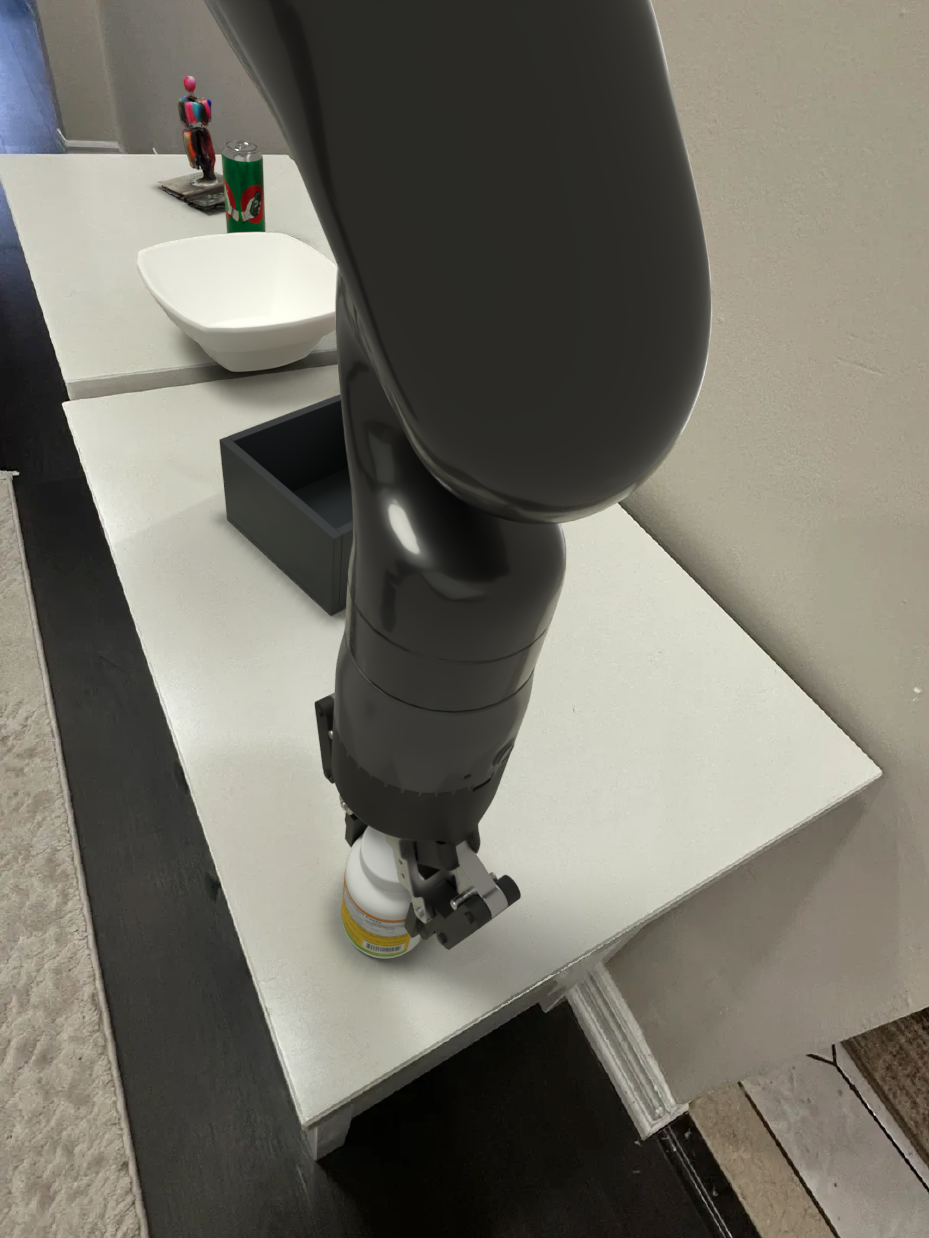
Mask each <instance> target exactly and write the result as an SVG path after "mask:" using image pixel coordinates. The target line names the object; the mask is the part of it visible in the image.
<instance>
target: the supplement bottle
mask: <svg viewBox="0 0 929 1238" xmlns="http://www.w3.org/2000/svg"><path fill="white" fill-rule="evenodd" d="M341 899H342V900H341V922H342V927H343V930H344V932H345V935H346V937H347V939H348V940H349V941H350V943H351V944H352V945H353V946H354V947H355V949H357V950H358V951H359V952H362V954H365V955H366V956H368V957H369V956H370V957H372V958H376V959H393V958H398V957H400V956H403V955H405V954H408V952H410V951H412V950H413V949H414V948H415V947H416V946H417V945H418V944H419V943H420V941H421V940H422V938H421V936H420V935H417V936H416V937H414V938H411V936H410V935H409V933H408V932H407V930H406V929H405V927H404V925H405V921H406V917H407V913H408V909H409V905H410V903H411V902H412V899H411V893H410V892H409V891H408V890H407V889H406V888H405V887H404V886H403V885H402V884H401V883H400V882H399V880H398V875H397V870H396V864H395V859H394V854H393V849H392V848H391V847H390V846H389V845H388V844H387V842H386V839H385V834H384V833H381V832H379V831H377V830H375V829H373V828H372V827H370V826H368V827H367V829H366V830H365V832H364V833H363V834H362V835H361V836H360V837H359V838H358V839H357V840H356V841H355V843H354V844H353V846H352V847H350V849H349V851H348V854H347V857H346V860H345V866H344V876H343V888H342V898H341Z"/></svg>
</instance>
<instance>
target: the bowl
mask: <svg viewBox="0 0 929 1238" xmlns="http://www.w3.org/2000/svg"><path fill="white" fill-rule="evenodd" d="M136 270H137V272H138V274H139V276H140V279H141V281H142V283H143V285H144V286H145V288H146V290H147V291H148V292H149V294H150V295H151V297H152V298H153V299H154V300H155V301H156V304H158V305H159V307H160V308H161V310H162V311H163V312H164V313H165V315H166V316H167V317H168V318H169V320H170V322H172V323H173V324H174V325H175V326H176V327H177V328H179V329H180V331H181V332H183V333H184V334H186V336H188V337H189V338H191V340H193V341H194V342H196V343H197V344H198V345H199V346H200V347H201V349H202V350H203V352H204V353H206V354H207V355H208V356H209V358H211V359H212V360H213V361H215V362H216V363H217V364H219V365H220V366H221V367H223V368H224V369H225V370H228V371H230V372H234V373H242V372H255V371H264V370H269V369H275V368H279V367H283V366H286V365H289V364H293V363H294V362H298V361H300V360H303V359H305V358H307V357H308V356H309V355H310V354H311V352H312V351H313V350H314V349H315V347H316V346H317V345H318V344H319V343H320V341H321V340H322V339H323V337H324V336H328V335H330V334H332V333H335V332H336V323H335V293H336V275H337V264H336V263H334V262H333V261H331V260H330V259H329V258H327V257H326V256H324V255H323V254H322V253H321V252H319V251H317V250H316V249H315V248H313V247H311V246H310V245H309V244H307V243H305V242H304V241H303V240H300V239H297V238H295V237H293V236H290V235H289V234H286V233H284V232H267V231H266V232H244V233H227V232H226V233H217V234H207V235H199V236H193V237H187V238H180V239H176V240H175V239H174V240H170V241H166V242H161V243H157V244H154V245H152V246H148V247H145V248H142V249H140V250H138V252H137V255H136Z"/></svg>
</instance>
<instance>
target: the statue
mask: <svg viewBox="0 0 929 1238" xmlns="http://www.w3.org/2000/svg"><path fill="white" fill-rule="evenodd" d="M182 79H183V86H184V89H185V91H186V92H187V93H188V94H187V95H188V96H187V95H184V96H183V97H179V98H178V101H177V102H176V103H177V110H178V116H179V122H180V123H181V125H182V126H183V127H184V128H182V129H183V130H182V131H181V135H182V141H183V147H184V152H185V154H186V157H187V160H188V163H189V166H190V167H191V168H192V169H193V170H197V171H198V172H194V173H191V174H186V175H182V176H179V177H173V178H169V179H165V180H160V181H157V183H158V184H160V185H161V186H159V185H158V189H161V191H165V192H166V193H168V194H170V195H173V196H174V197H176V198H179V199H181V200H185V199H186V202H187V205H188V206H189V207H193V208H195V207H196V208H198V209H204V210H207V209H211V208H214V207H215V205H216V208H225V198H224V184H223V174H221V173H218V172H216V171H215V165H216V162H217V157H216V152H215V148H214V141H213V138H212V134H211V132H210V130H209V128H208V127H209V123H212V100H211V99H209V98H205V97H201V99H200V97H199V96H198V95H197V96H195V90H196V87H197V85H196V83H197V82H196V78H195V77H194V76H191V75H185V76H184V77H183V78H182ZM198 123H201V124H200V126H194V125H195V124H198Z"/></svg>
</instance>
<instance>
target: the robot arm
mask: <svg viewBox="0 0 929 1238" xmlns="http://www.w3.org/2000/svg"><path fill="white" fill-rule="evenodd" d="M203 2H204V4H205V6H206V8H207V9H208V11H209V13H210V14H211V16H212V18H213V19H214V21H215V23H216V24H217V26H218V29H219V30H220V31H221V33H222V36H223V37H224V39H225V40H226V42H227V44H228V45H229V47H230V48H231V50H232V52H233V53H234V55H235V57H236V58H237V60H238V61H239V63H240V65H241V66H242V68H243V69H244V71H245V73H246V74H247V76H248V77H249V79H250V81H251V82H252V84H253V85H254V87H255V88H256V90H257V92H258V93H259V95H260V96H261V98H262V99H263V102H264V103H265V105H266V107H267V109H268V110H269V112H270V114H271V115H272V117H273V119H274V121H275V123H276V125H277V126H278V129H279V130H280V133H281V134H282V137H283V138H284V141H285V142H286V145H287V147H288V149H289V151H290V153H291V156H292V158H293V160H294V163H295V165H296V167H297V169H298V172H299V174H300V177H301V179H302V182H303V184H304V187H305V189H306V192H307V194H308V198H309V199H310V202H311V204H312V207H313V210H314V212H315V214H316V217H317V219H318V221H319V224H320V227H321V229H322V231H323V234H324V235H325V239H326V241H327V243H328V245H329V248H330V251H331V253H332V256H333V258H334V261H335V264H336V267H337V275H336V293H335V323H336V331H335V340H336V342H335V343H336V357H337V370H338V371H337V372H338V384H339V394H340V395H341V406H342V416H343V427H344V437H345V444H346V453H347V461H348V468H349V476H350V484H351V494H352V511H353V540H352V546H351V552H350V559H349V567H348V583H347V600H346V608H345V618H344V619H345V620H344V630H343V634H342V638H341V641H340V645H339V649H338V653H337V658H336V664H335V673H334V674H335V675H334V692H333V693H330V694H328V695H326V696H324V697H322V698H320V699H318V700H315V701H314V711H315V719H316V728H317V735H318V744H319V750H320V760H321V767H322V772H323V773H322V774H323V776H324V777H325V779H326V780H327V781H328V782H329V783H330V784H332V785H335V787H336V790H337V792H338V794H339V796H338V799H339V803H340V807H341V809H342V810H343V811H344V812H345V813H344V815H345V816H344V823H345V832H344V833H345V834H344V840H345V841H346V843H347V844H348V846H349V847H350V848H351V847H352V846H353V844H354V843H355V841H356V840H357V839H358V838H359V837H360V836H361V835H362V834H363V833H364V832H365V830H366V829H367V827H368V826H370V827H372V828H373V829H375V830H377V831H379V832H381V833H384V834H385V839H386V842H387V844H388V845H389V846H390V847H391V848H392V849H393V854H394V859H395V864H396V870H397V875H398V880H399V882H400V883H401V884H402V885H403V886H404V887H405V888H406V889H407V890H408V891H409V892H410V893H411V899H412V902H411V903H410V905H409V909H408V913H407V917H406V921H405V925H404V927H405V929H406V930H407V932H408V933H409V935H410V936H411V938H414V937H416V936H417V935H420V936H421V940H422V941H426V940H429V938H431V937H432V936H434V935H435V936H436V939H437V941H438V942H439V944H440V945H441V946H443V948H445V949H446V950H447V951H450V950H451V949H453V948H454V947H456V946H457V945H459V944H460V943H461V942H462V941H464V940H466V939H467V938H468V937H470V936H471V935H473V934H474V933H475V932H477V931H478V930H480V929H481V928H482V927H484V926H485V925H486V924H488V923H489V922H490V921H493V919H495V918H496V917H497V916H499V915H500V914H501V913H503V912H504V911H506V910H507V909H508V908H509V907H511V906H512V905H514V904H515V903H517V902H518V901H519V900H521V898H522V894H521V890H520V888H519V885H517V883H516V882H515V880H514V879H513V878H512V877H511V876H509V875H508V874H503V875H501V877H499V878H498V876H497V875H496V873H495V872H490V873H489V871H488V870H487V868H486V867H485V865H484V863H483V862H482V860H481V859H480V858H479V855H477V854H478V852H479V851H480V848H481V835H480V830H479V829H480V828H479V823H480V821H481V820H482V819H483V817H484V816H485V814H486V812H487V811H488V809H489V808H490V806H491V804H492V803H493V800H494V799H495V796H496V794H497V791H498V789H499V787H500V784H501V781H502V779H503V776H504V773H505V771H506V767H507V765H508V761H509V759H510V757H511V754H512V751H513V750H514V748H515V745H516V740H517V738H518V734H519V731H520V730H521V727H522V724H523V721H524V718H525V715H526V713H527V710H528V707H529V704H530V700H531V695H532V689H533V684H534V676H535V670H536V666H537V663H538V660H539V658H540V654H541V651H542V649H543V646H544V643H545V641H546V637H547V635H548V632H549V629H550V627H551V624H552V622H553V618H554V616H555V612H556V609H557V607H558V604H559V600H560V597H561V593H562V590H563V587H564V581H565V577H566V572H567V571H566V570H567V543H566V537H565V532H564V529H563V527H562V524H565V523H570V522H575V521H579V520H581V519H585V518H587V517H588V518H589V517H591V516H593V515H596V514H599V513H600V512H604V511H605V510H606V509H608V508H611V507H612V506H614V505H616V504H618V503H621V501H623V500H625V498H627V497H629V496H630V495H631V494H633V493H634V492H635V491H636V490H638V489H639V488H641V486H643V485H644V484H645V483H646V482H648V480H649V479H650V478H651V477H652V476H653V475H654V474H655V473H656V472H657V471H658V470H659V468H660V467H661V465H662V464H663V463H664V462H665V461H666V460H667V458H668V457H669V455H670V453H671V452H672V451H673V449H674V448H675V446H676V445H677V443H678V442H679V440H680V438H681V437H682V434H683V432H684V431H685V429H686V426H687V424H688V422H689V420H690V418H691V416H692V413H693V411H694V408H695V406H696V404H697V401H698V398H699V395H700V392H701V389H702V385H703V382H704V379H705V375H706V369H707V365H708V359H709V352H710V345H711V335H712V324H713V323H712V322H713V299H712V298H713V294H712V293H713V292H712V291H713V290H712V275H711V267H710V266H711V265H710V258H709V257H710V256H709V252H708V251H709V250H708V244H707V238H706V231H705V227H704V221H703V217H702V211H701V205H700V200H699V196H698V191H697V187H696V186H697V185H696V183H695V177H694V173H693V169H692V164H691V160H690V155H689V151H688V147H687V143H686V139H685V136H684V132H683V127H682V123H681V118H680V114H679V109H678V106H677V105H678V104H677V101H676V95H675V91H674V87H673V84H672V78H671V75H670V70H669V66H668V62H667V58H666V52H665V47H664V43H663V40H662V39H663V38H662V35H661V31H660V27H659V24H658V19H657V16H656V13H655V9H654V5H653V3H652V0H203Z"/></svg>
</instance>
